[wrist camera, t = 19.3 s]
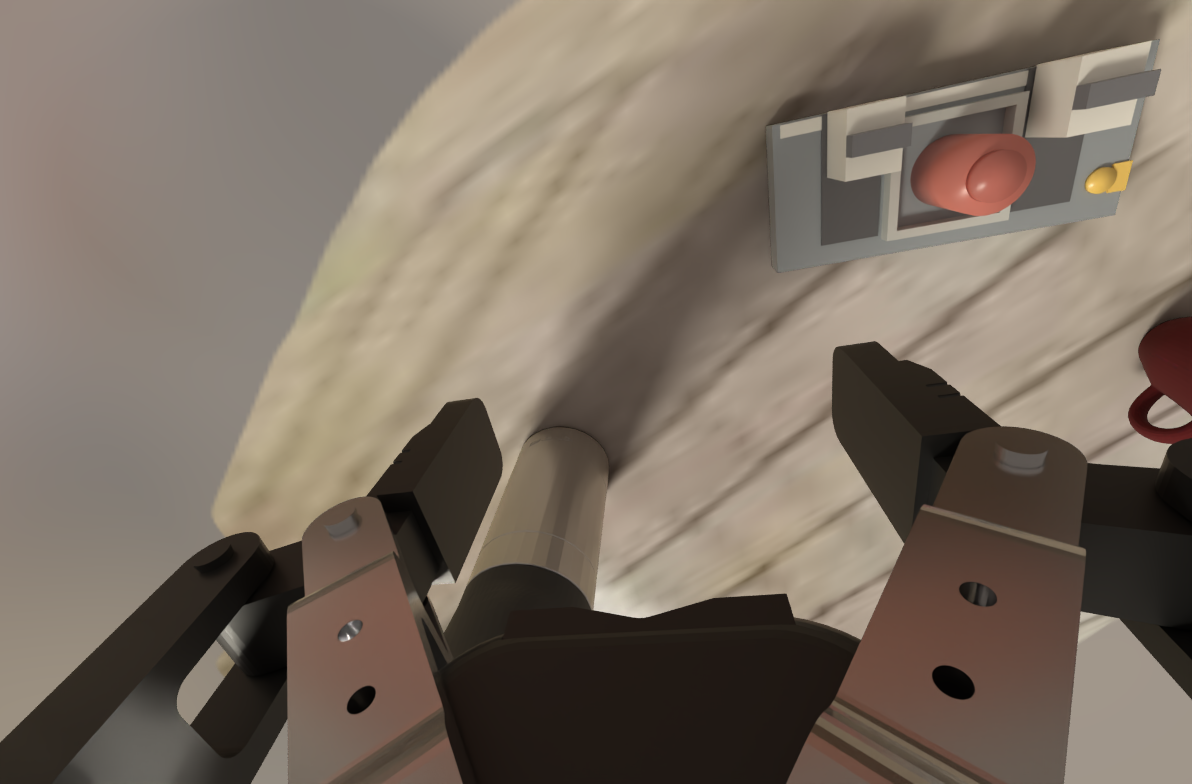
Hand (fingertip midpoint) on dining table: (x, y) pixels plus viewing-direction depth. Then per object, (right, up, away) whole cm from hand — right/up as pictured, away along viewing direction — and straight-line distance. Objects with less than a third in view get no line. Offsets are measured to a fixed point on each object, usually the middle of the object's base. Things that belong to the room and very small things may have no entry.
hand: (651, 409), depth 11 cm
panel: (+22, +16, +23) cm, 36 cm away
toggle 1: (+16, +17, +21) cm, 31 cm away
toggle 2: (+27, +19, +19) cm, 38 cm away
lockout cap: (+22, +15, +22) cm, 35 cm away
